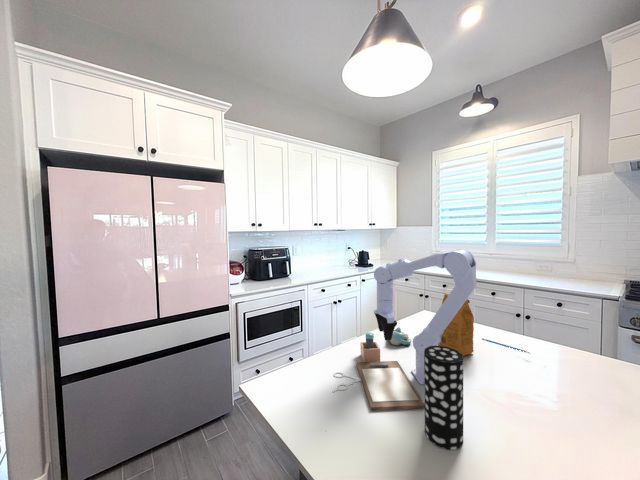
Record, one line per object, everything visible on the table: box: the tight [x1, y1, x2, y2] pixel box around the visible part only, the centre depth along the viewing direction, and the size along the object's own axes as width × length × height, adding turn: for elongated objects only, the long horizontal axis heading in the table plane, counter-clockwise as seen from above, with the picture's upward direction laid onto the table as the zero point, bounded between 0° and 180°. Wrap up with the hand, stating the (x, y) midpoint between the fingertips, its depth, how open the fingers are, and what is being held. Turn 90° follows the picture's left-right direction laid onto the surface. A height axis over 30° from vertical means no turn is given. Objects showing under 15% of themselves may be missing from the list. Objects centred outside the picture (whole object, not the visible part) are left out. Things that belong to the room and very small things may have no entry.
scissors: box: [332, 371, 362, 393], centre depth 86 cm, size 11×1×20 cm
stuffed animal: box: [389, 326, 413, 346], centre depth 114 cm, size 11×7×12 cm
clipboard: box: [356, 360, 425, 412], centre depth 84 cm, size 15×24×2 cm, turn 1°
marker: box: [365, 332, 375, 349], centre depth 100 cm, size 3×3×9 cm
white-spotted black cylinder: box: [423, 346, 464, 451], centre depth 62 cm, size 8×8×20 cm
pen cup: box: [360, 341, 381, 362], centre depth 100 cm, size 6×6×5 cm
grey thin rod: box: [481, 338, 530, 354], centre depth 108 cm, size 1×17×1 cm, turn 37°
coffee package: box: [438, 293, 475, 357], centre depth 105 cm, size 10×12×22 cm
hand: (385, 335), depth 96 cm, fingers open, 7 cm apart
